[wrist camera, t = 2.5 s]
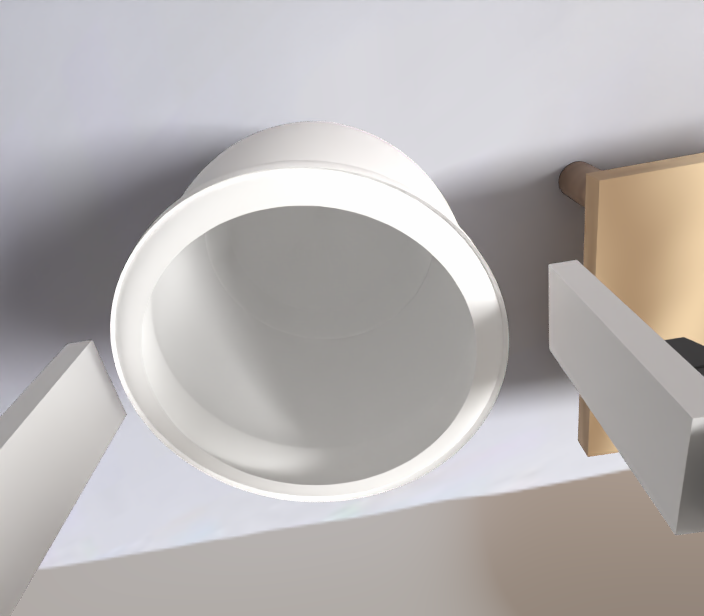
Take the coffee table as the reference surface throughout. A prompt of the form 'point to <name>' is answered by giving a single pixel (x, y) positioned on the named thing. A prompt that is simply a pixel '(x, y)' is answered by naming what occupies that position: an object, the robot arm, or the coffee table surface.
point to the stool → (643, 250)
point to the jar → (310, 319)
